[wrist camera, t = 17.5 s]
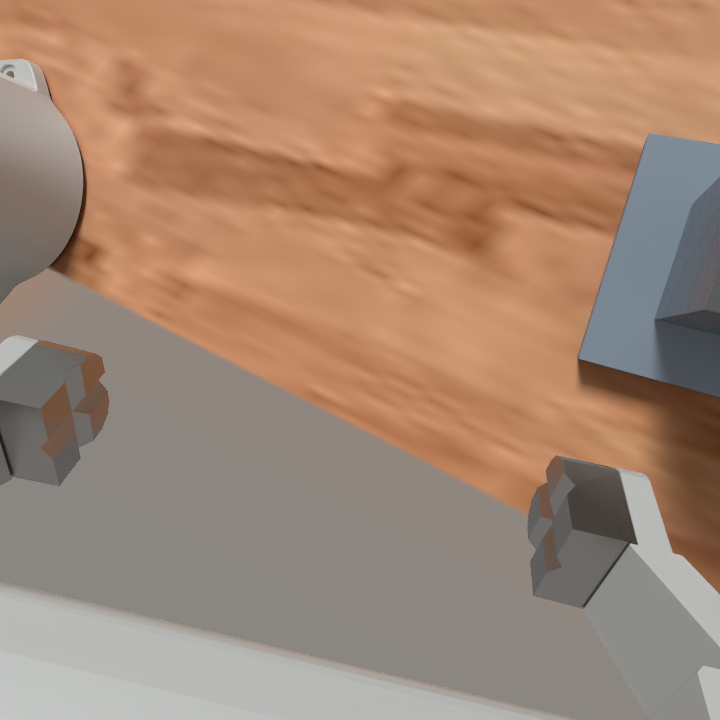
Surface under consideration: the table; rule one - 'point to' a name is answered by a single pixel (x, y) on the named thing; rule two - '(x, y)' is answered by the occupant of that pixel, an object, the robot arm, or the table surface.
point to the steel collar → (696, 269)
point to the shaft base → (654, 272)
